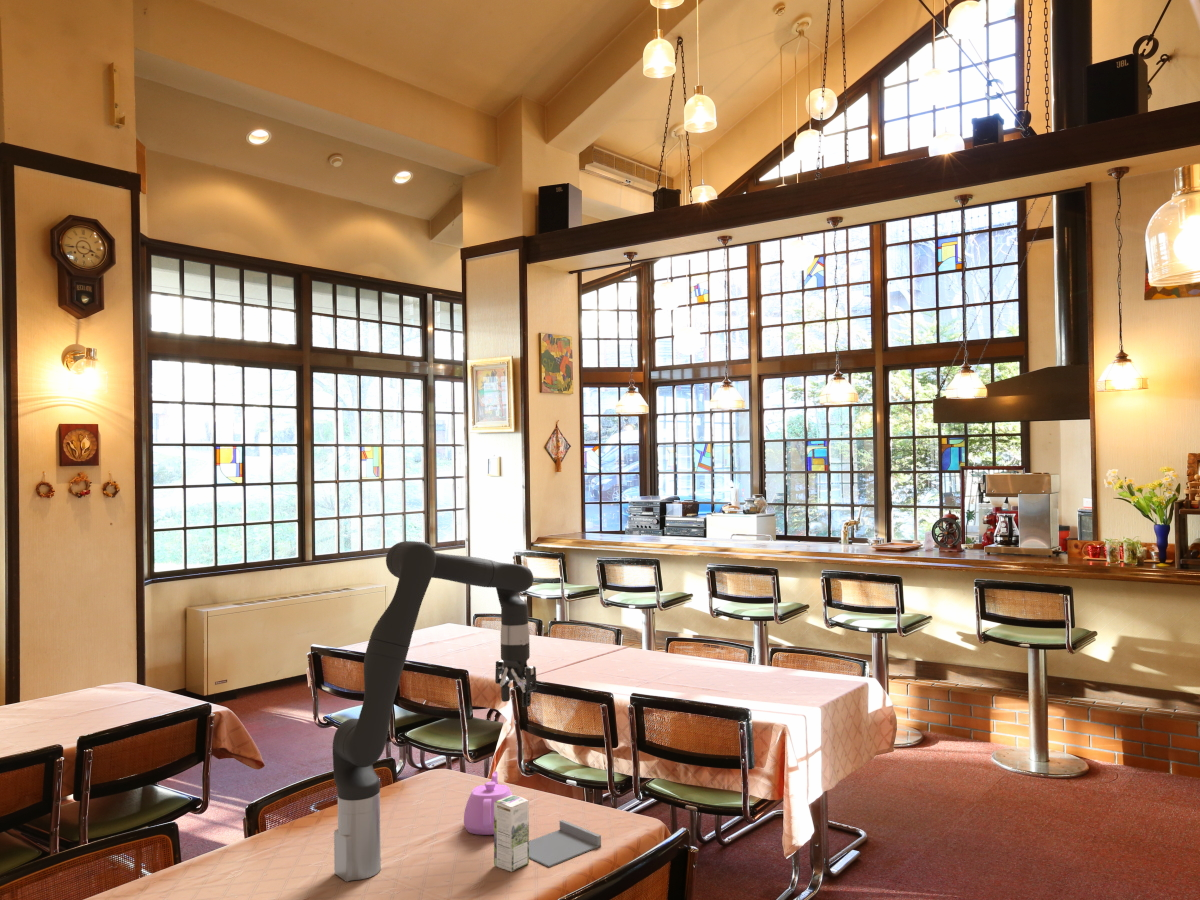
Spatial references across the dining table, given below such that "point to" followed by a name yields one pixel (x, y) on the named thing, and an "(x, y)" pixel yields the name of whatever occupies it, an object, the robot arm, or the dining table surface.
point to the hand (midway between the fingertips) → (515, 703)
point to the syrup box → (511, 833)
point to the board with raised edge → (563, 844)
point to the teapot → (484, 806)
